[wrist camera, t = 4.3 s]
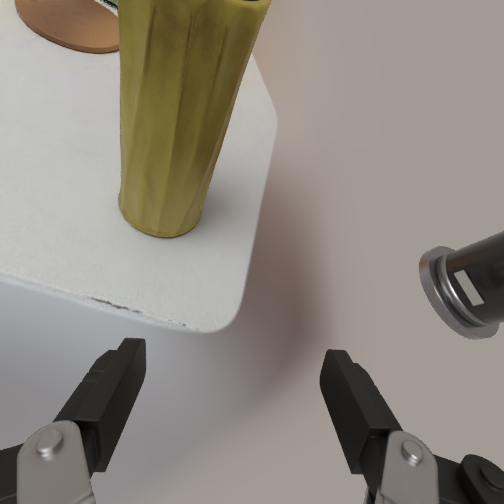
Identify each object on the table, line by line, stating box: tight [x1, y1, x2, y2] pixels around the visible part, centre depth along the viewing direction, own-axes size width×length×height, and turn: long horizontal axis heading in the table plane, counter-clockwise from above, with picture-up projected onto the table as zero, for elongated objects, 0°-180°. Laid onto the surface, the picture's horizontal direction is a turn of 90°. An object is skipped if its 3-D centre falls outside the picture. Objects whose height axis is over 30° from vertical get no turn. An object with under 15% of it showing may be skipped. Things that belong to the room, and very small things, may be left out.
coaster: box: [15, 0, 119, 53], centre depth 25 cm, size 9×9×1 cm
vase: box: [118, 0, 271, 237], centre depth 14 cm, size 6×6×14 cm
